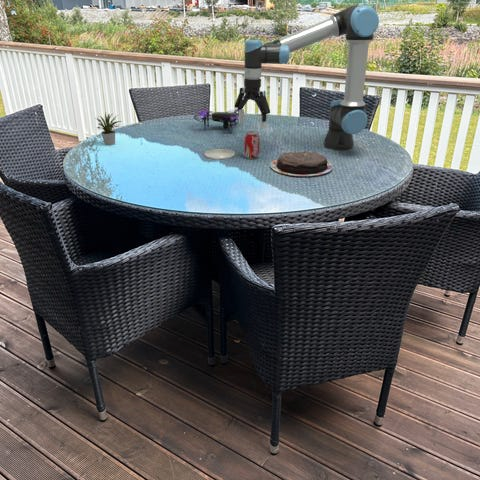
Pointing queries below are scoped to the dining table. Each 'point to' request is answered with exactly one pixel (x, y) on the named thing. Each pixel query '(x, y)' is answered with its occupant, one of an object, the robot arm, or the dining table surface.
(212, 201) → the dining table surface
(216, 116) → the drone
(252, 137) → the soda can
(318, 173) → the chocolate cake
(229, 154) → the coaster
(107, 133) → the house plant
